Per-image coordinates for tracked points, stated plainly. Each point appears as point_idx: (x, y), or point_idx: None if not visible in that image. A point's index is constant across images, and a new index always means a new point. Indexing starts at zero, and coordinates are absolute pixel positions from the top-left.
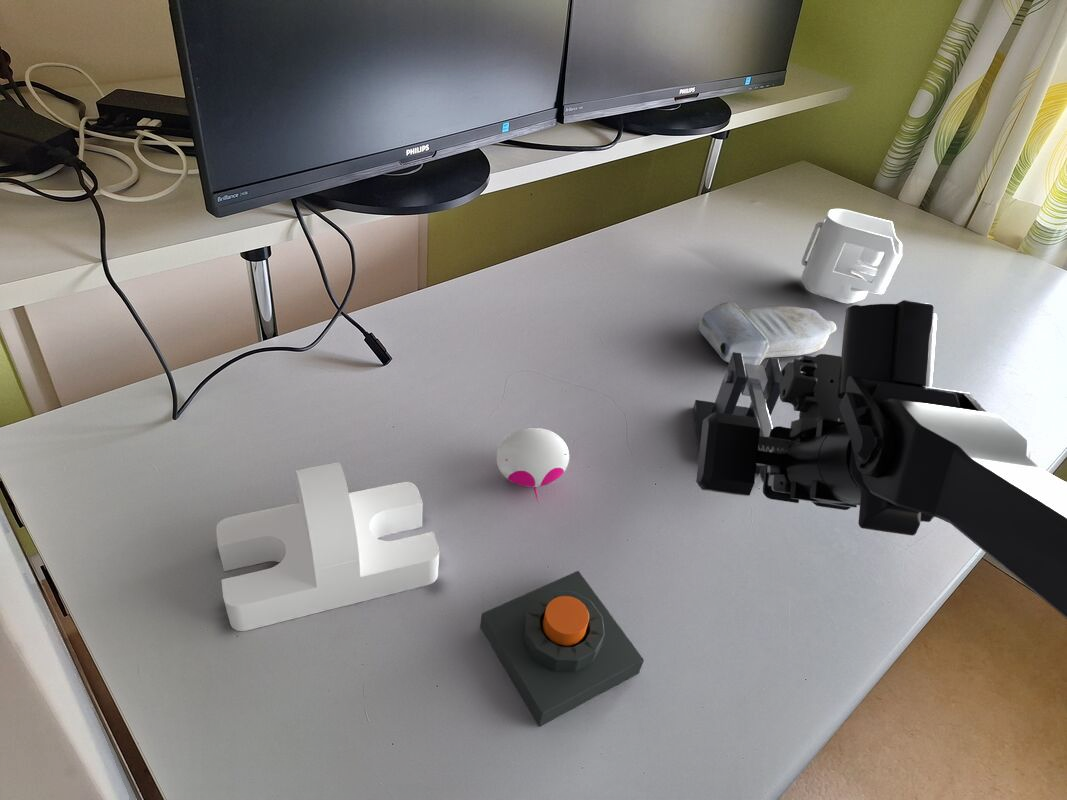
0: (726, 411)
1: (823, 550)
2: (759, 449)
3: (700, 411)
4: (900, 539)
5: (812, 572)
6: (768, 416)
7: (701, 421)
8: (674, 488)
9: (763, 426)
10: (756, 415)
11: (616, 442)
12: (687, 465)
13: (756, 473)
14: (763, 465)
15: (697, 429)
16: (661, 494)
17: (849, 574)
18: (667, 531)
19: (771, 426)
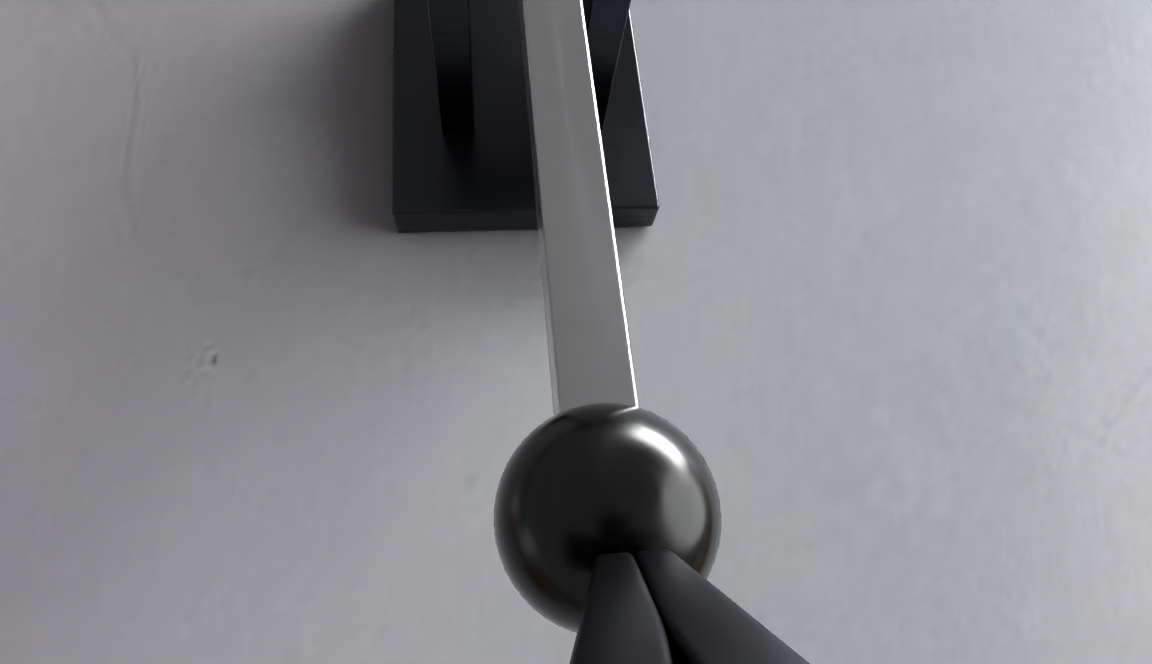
0: (438, 13)
1: (838, 526)
2: (612, 133)
3: (406, 5)
4: (1082, 402)
5: (803, 650)
6: (581, 44)
7: (406, 47)
8: (291, 364)
9: (543, 126)
10: (522, 42)
11: (80, 190)
12: (354, 242)
13: None
14: (503, 507)
15: (393, 82)
16: (233, 407)
17: (932, 618)
18: (236, 599)
19: (593, 116)
